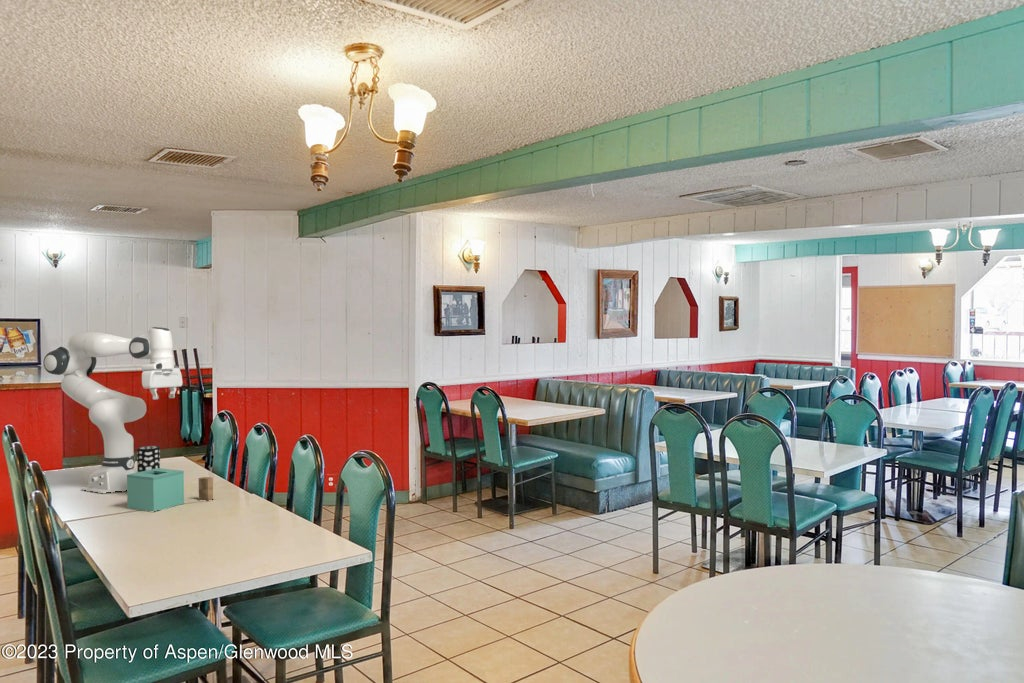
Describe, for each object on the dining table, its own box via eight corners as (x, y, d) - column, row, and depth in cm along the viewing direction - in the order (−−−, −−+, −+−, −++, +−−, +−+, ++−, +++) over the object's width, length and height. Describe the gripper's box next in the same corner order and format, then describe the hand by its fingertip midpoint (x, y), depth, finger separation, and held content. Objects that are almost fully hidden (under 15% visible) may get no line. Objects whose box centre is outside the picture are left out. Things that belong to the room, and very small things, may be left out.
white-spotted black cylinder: (165, 494, 302) (164, 446, 302) (149, 499, 295) (148, 449, 294) (149, 493, 305) (148, 445, 305) (133, 497, 297) (132, 448, 297)
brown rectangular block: (198, 500, 293) (198, 477, 293) (203, 498, 295) (203, 476, 295) (208, 501, 291) (207, 479, 291) (213, 500, 293) (212, 477, 293)
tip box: (127, 508, 280) (126, 474, 280) (158, 500, 293) (157, 468, 292) (153, 512, 274) (153, 477, 274) (184, 503, 287) (183, 470, 287)
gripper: (172, 365, 316) (174, 397, 315) (138, 366, 296) (139, 400, 296) (185, 364, 315) (187, 397, 314) (151, 365, 295) (153, 399, 294)
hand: (163, 398), depth 305 cm, fingers open, 8 cm apart
